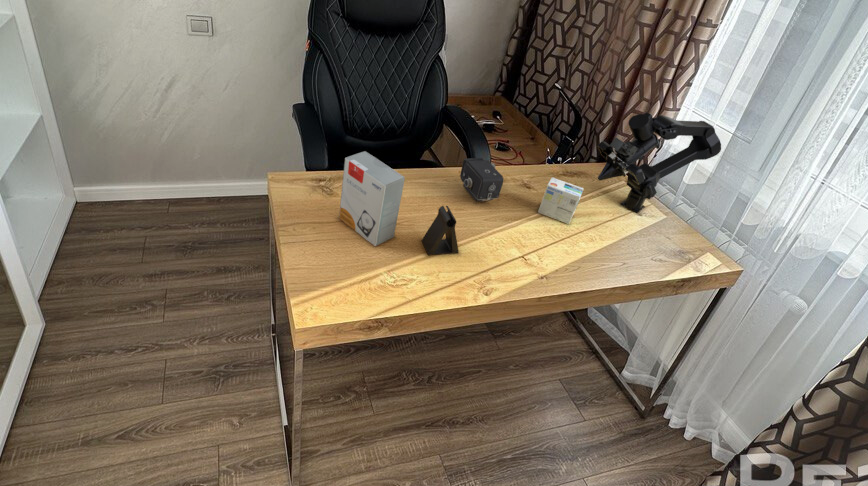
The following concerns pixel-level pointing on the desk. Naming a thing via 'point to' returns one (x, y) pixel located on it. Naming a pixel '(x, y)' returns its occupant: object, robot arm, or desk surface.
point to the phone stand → (441, 234)
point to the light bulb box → (560, 200)
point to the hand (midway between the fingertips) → (598, 179)
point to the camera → (481, 179)
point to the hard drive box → (370, 197)
